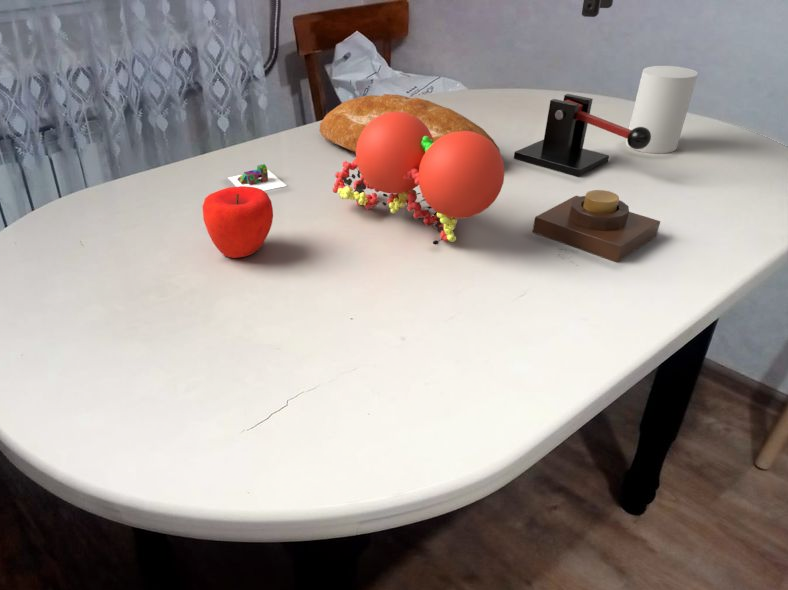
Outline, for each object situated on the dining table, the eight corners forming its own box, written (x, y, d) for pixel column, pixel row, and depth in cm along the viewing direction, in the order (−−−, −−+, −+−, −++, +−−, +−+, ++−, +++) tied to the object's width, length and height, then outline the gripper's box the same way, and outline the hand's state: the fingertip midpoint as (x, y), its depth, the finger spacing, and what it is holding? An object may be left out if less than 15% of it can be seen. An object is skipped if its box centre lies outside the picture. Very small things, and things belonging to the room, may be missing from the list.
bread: (352, 120, 129) (352, 73, 124) (520, 155, 111) (528, 101, 106) (294, 145, 119) (292, 94, 113) (470, 188, 100) (476, 129, 95)
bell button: (621, 208, 84) (625, 195, 83) (605, 218, 82) (609, 204, 81) (593, 199, 87) (596, 187, 86) (576, 208, 85) (579, 195, 84)
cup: (671, 138, 116) (692, 66, 109) (680, 154, 109) (703, 78, 102) (622, 136, 117) (639, 65, 110) (628, 152, 111) (647, 77, 104)
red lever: (649, 149, 99) (658, 129, 97) (639, 154, 97) (648, 134, 95) (564, 115, 107) (570, 96, 105) (553, 120, 105) (559, 100, 103)
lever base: (608, 162, 107) (622, 100, 102) (578, 177, 103) (591, 113, 97) (543, 145, 115) (553, 87, 109) (513, 158, 110) (522, 98, 104)
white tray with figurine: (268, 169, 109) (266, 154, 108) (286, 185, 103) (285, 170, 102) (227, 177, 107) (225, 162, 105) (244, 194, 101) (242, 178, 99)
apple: (266, 270, 81) (261, 211, 76) (198, 265, 82) (189, 207, 78) (283, 238, 88) (279, 182, 84) (220, 234, 90) (213, 179, 85)
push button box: (656, 236, 85) (664, 207, 83) (617, 262, 80) (625, 232, 78) (573, 210, 93) (578, 182, 91) (532, 232, 88) (537, 203, 85)
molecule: (516, 228, 88) (526, 124, 77) (471, 276, 84) (475, 173, 72) (370, 174, 101) (359, 78, 89) (324, 213, 96) (307, 117, 85)
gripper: (639, -125, 81) (612, 20, 90) (659, -126, 91) (633, 5, 100) (577, -121, 85) (557, 18, 94) (603, -123, 94) (583, 4, 104)
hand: (597, 11), depth 97 cm, fingers open, 8 cm apart
